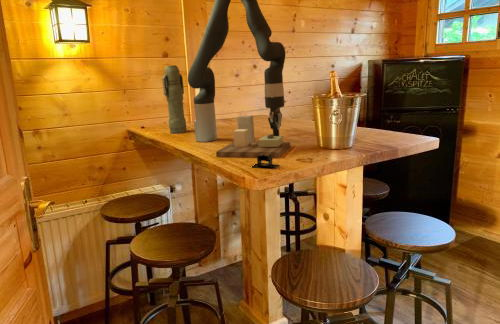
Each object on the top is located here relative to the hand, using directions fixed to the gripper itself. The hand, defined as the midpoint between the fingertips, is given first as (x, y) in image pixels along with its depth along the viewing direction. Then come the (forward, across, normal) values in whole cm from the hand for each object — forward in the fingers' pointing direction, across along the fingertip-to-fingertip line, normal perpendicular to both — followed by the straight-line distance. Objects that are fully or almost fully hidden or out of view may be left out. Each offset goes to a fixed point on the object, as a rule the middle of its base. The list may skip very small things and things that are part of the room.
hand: (276, 138), depth 156 cm
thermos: (+4, -35, -64) cm, 73 cm away
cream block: (+3, +8, -12) cm, 15 cm away
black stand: (+4, +29, +4) cm, 30 cm away
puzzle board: (+4, +10, -6) cm, 13 cm away
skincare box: (+4, -7, -15) cm, 17 cm away
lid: (+1, +8, 0) cm, 8 cm away
